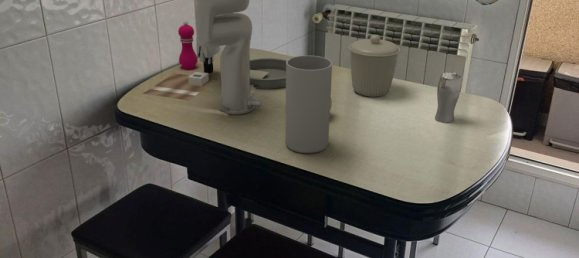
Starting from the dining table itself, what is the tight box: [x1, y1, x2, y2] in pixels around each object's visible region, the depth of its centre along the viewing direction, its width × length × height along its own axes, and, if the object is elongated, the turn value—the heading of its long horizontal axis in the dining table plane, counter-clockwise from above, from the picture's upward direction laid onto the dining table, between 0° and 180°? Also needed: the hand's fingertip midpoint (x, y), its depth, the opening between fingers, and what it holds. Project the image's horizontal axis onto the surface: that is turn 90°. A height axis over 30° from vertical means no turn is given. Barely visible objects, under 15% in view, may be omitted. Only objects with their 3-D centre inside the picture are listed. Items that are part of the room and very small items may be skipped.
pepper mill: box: [177, 20, 198, 71], centre depth 209 cm, size 7×7×20 cm
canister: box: [348, 34, 401, 97], centre depth 191 cm, size 18×18×21 cm
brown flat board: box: [142, 73, 218, 101], centre depth 194 cm, size 18×22×2 cm
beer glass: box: [434, 71, 463, 124], centre depth 171 cm, size 7×7×15 cm
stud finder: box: [188, 71, 210, 86], centre depth 196 cm, size 5×6×3 cm
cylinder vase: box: [284, 55, 333, 154], centre depth 152 cm, size 12×12×25 cm
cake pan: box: [250, 57, 288, 89], centre depth 206 cm, size 25×25×4 cm
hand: (208, 72), depth 204 cm, fingers closed
